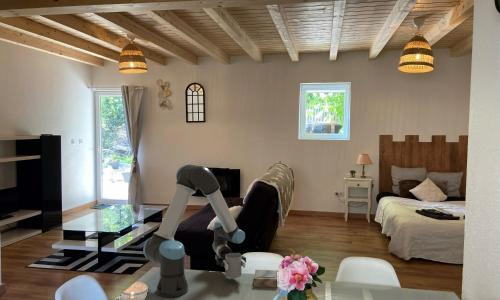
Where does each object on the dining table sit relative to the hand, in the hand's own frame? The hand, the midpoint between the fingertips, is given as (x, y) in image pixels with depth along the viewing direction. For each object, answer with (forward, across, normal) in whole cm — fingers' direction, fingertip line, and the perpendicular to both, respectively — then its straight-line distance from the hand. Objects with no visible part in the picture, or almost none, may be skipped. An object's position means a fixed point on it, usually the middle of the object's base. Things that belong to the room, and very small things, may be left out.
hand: (236, 266), depth 186 cm
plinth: (0, -16, -10) cm, 19 cm away
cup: (-5, 0, -6) cm, 8 cm away
